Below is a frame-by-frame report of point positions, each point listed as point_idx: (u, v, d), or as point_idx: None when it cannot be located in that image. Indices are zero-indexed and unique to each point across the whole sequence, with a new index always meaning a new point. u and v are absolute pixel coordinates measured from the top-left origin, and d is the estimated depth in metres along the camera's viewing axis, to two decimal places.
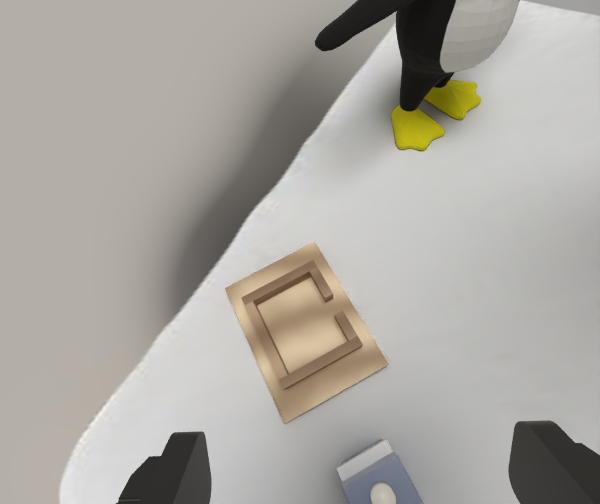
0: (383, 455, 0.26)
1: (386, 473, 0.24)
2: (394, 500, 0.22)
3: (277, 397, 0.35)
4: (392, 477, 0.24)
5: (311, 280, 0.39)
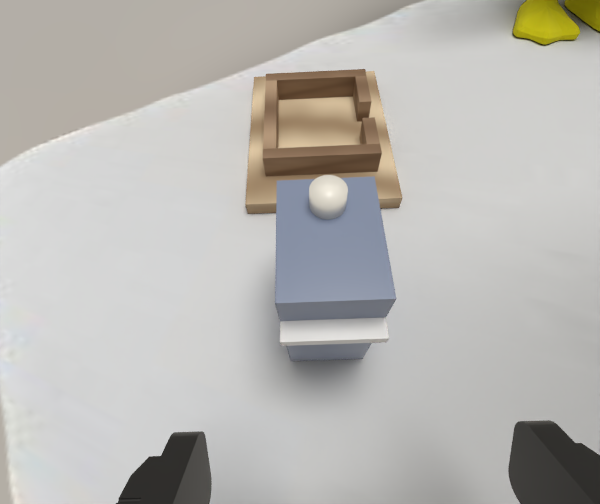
0: None
1: (348, 186, 0.15)
2: (343, 196, 0.14)
3: (252, 179, 0.27)
4: (354, 193, 0.15)
5: (351, 99, 0.32)
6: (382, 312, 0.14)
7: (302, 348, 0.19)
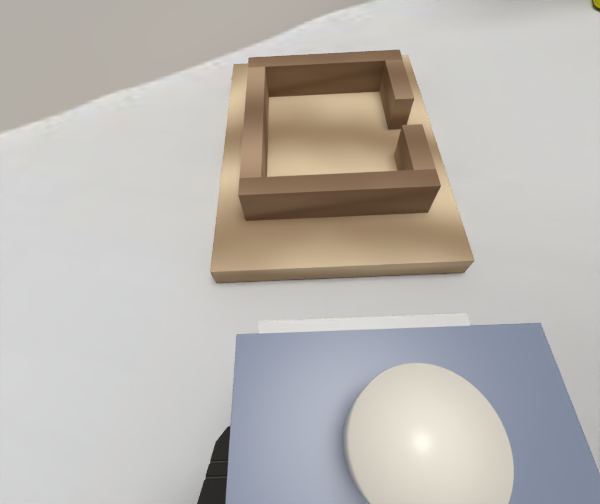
0: None
1: (463, 363, 0.05)
2: (501, 486, 0.03)
3: (223, 226, 0.17)
4: (489, 394, 0.05)
5: (377, 95, 0.21)
6: None
7: None
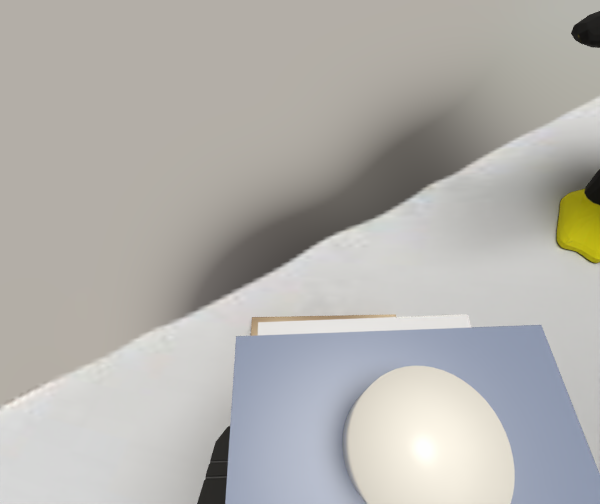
0: None
1: (465, 365, 0.05)
2: (502, 490, 0.03)
3: None
4: (490, 396, 0.05)
5: None
6: None
7: None
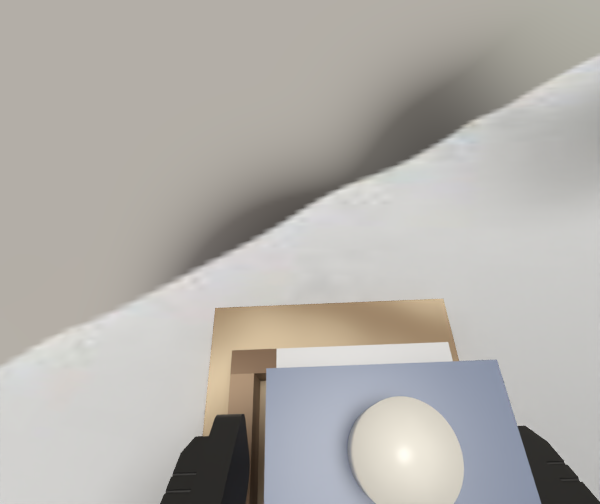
0: None
1: (438, 391, 0.06)
2: (454, 482, 0.05)
3: None
4: (455, 415, 0.06)
5: None
6: None
7: None
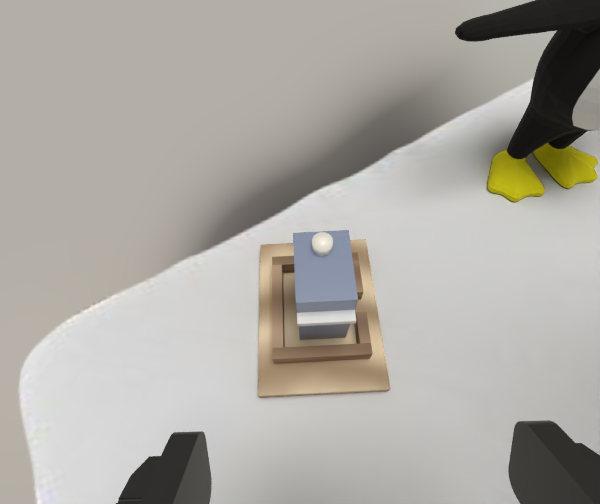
0: None
1: (333, 236, 0.27)
2: (330, 244, 0.26)
3: (263, 367, 0.32)
4: (336, 240, 0.27)
5: None
6: (352, 306, 0.26)
7: (307, 330, 0.30)
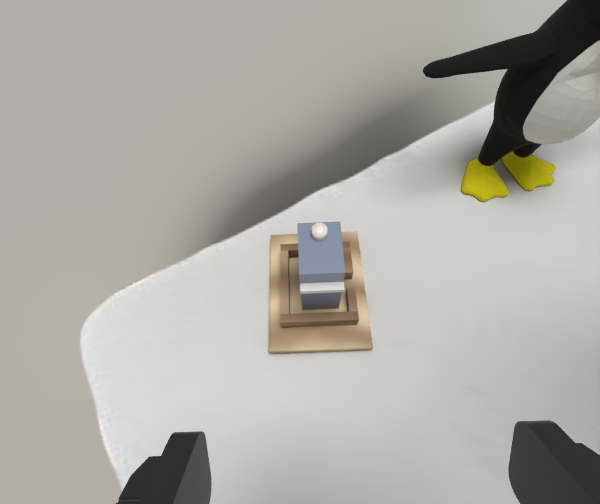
0: None
1: (328, 226, 0.36)
2: (325, 231, 0.34)
3: (272, 330, 0.41)
4: (330, 229, 0.35)
5: None
6: (341, 279, 0.34)
7: (308, 300, 0.39)
